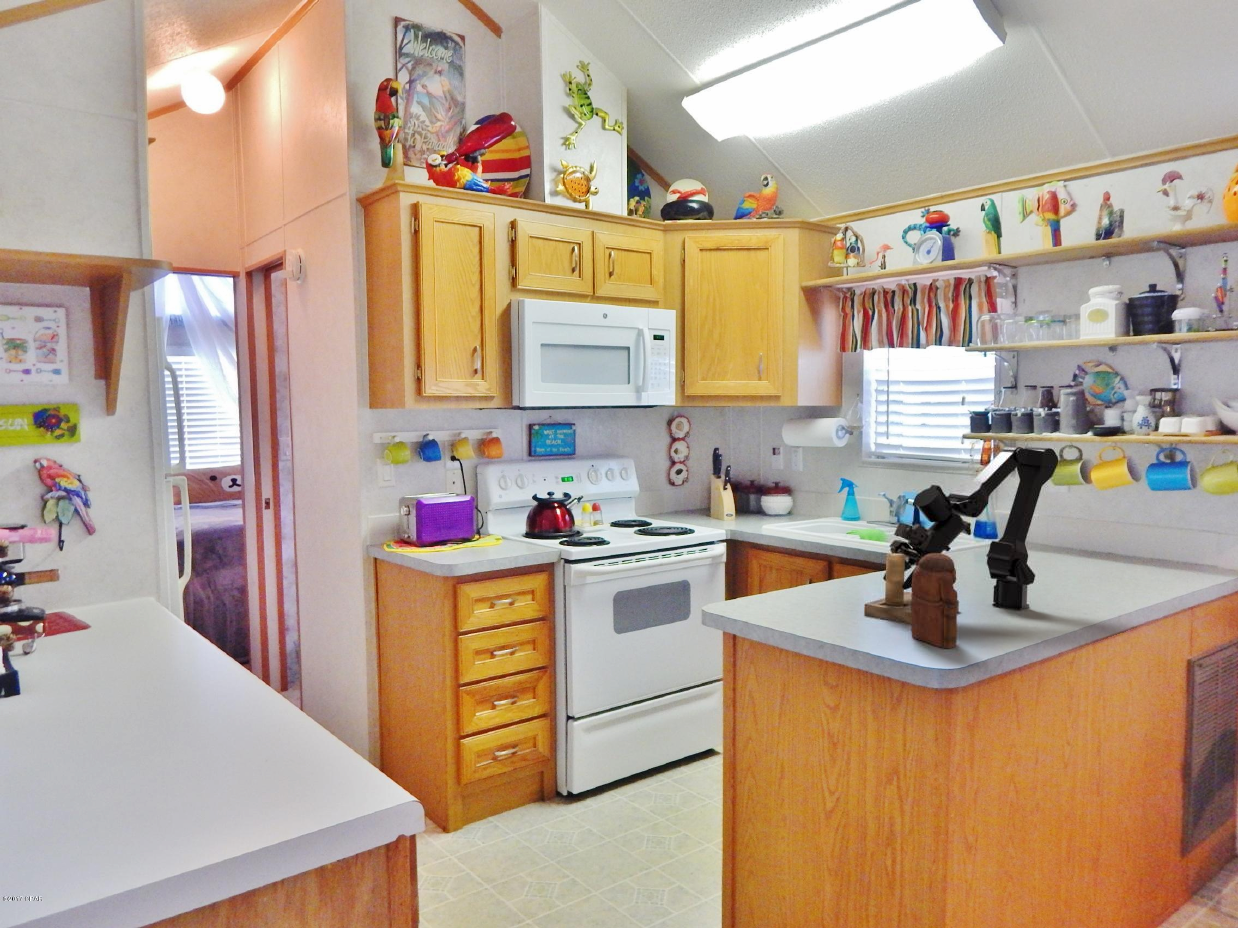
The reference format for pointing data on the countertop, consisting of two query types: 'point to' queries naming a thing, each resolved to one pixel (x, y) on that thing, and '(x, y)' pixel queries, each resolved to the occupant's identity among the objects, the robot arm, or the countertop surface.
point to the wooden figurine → (934, 601)
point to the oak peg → (894, 580)
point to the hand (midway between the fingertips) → (893, 584)
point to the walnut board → (892, 609)
